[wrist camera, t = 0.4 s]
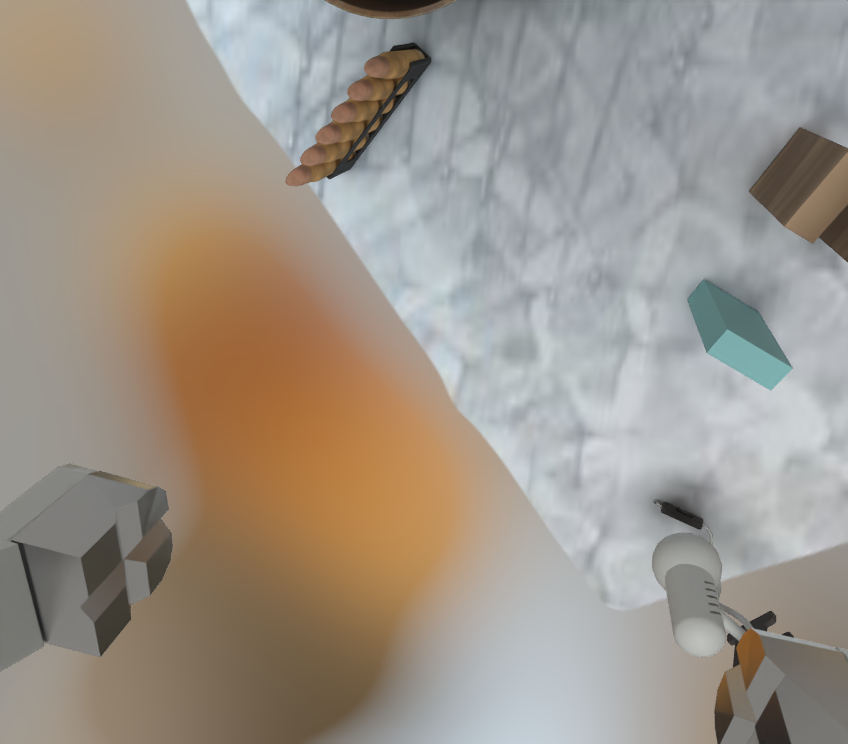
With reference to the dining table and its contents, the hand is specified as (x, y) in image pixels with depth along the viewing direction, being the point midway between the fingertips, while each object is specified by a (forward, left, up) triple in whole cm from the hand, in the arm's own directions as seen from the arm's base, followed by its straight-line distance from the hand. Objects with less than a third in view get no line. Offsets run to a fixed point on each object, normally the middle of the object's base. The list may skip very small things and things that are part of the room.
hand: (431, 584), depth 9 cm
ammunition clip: (-2, -14, -46) cm, 48 cm away
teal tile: (+13, +13, -45) cm, 49 cm away
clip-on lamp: (+34, +14, -46) cm, 58 cm away
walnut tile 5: (+2, +16, -45) cm, 48 cm away
